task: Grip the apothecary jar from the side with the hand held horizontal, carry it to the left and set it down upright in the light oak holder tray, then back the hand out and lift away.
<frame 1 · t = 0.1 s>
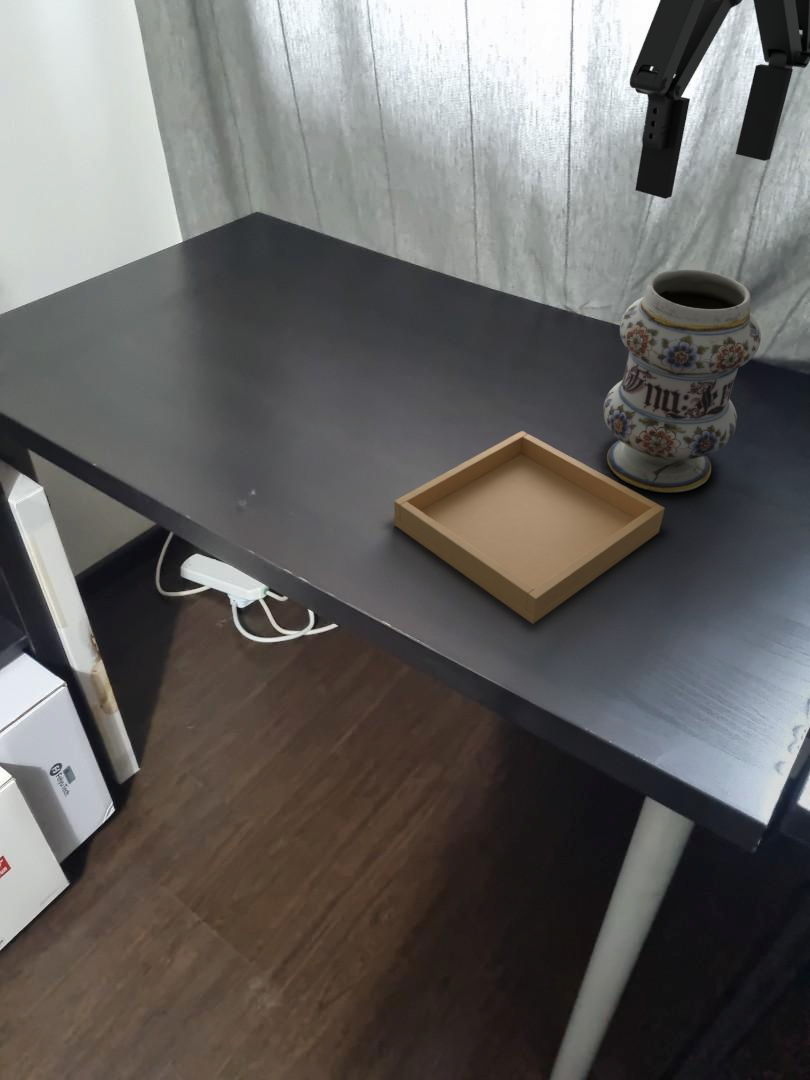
hand: (705, 174, 65), 27 cm above the table, tool pointing down, fingers open, 13 cm apart
apothecary jar: (657, 465, 81), on the table
holder: (525, 528, 74), on the table
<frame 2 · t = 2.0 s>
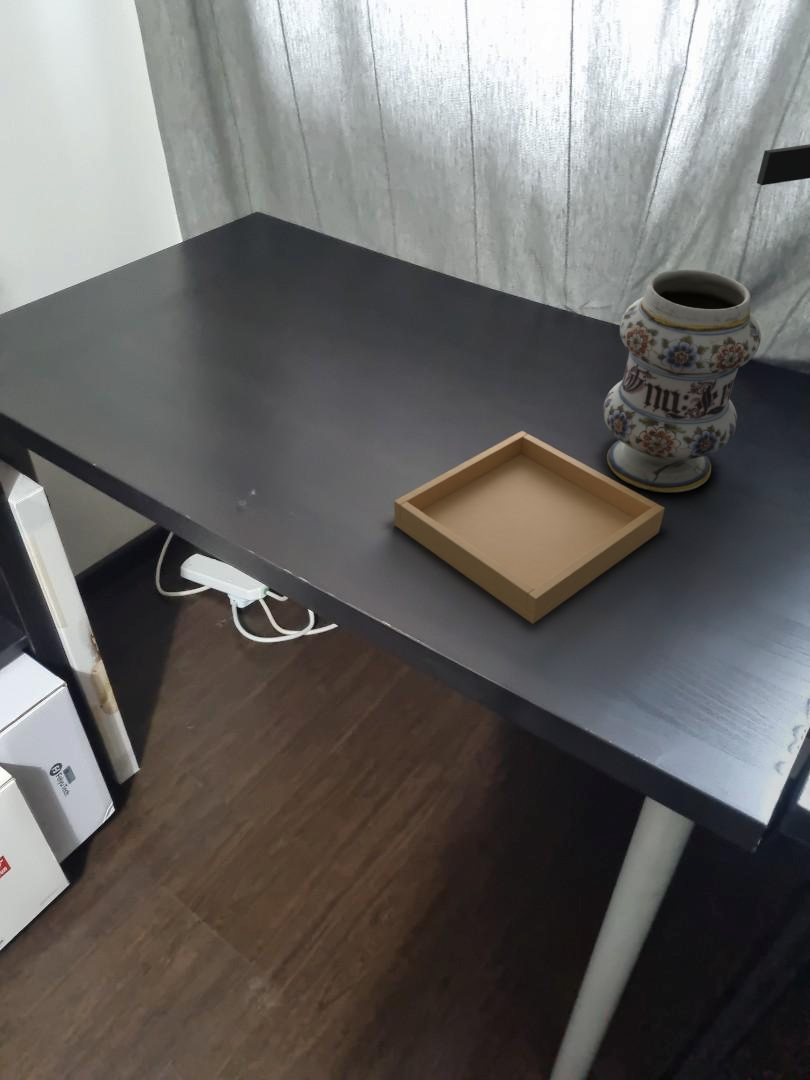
nothing on the table moved.
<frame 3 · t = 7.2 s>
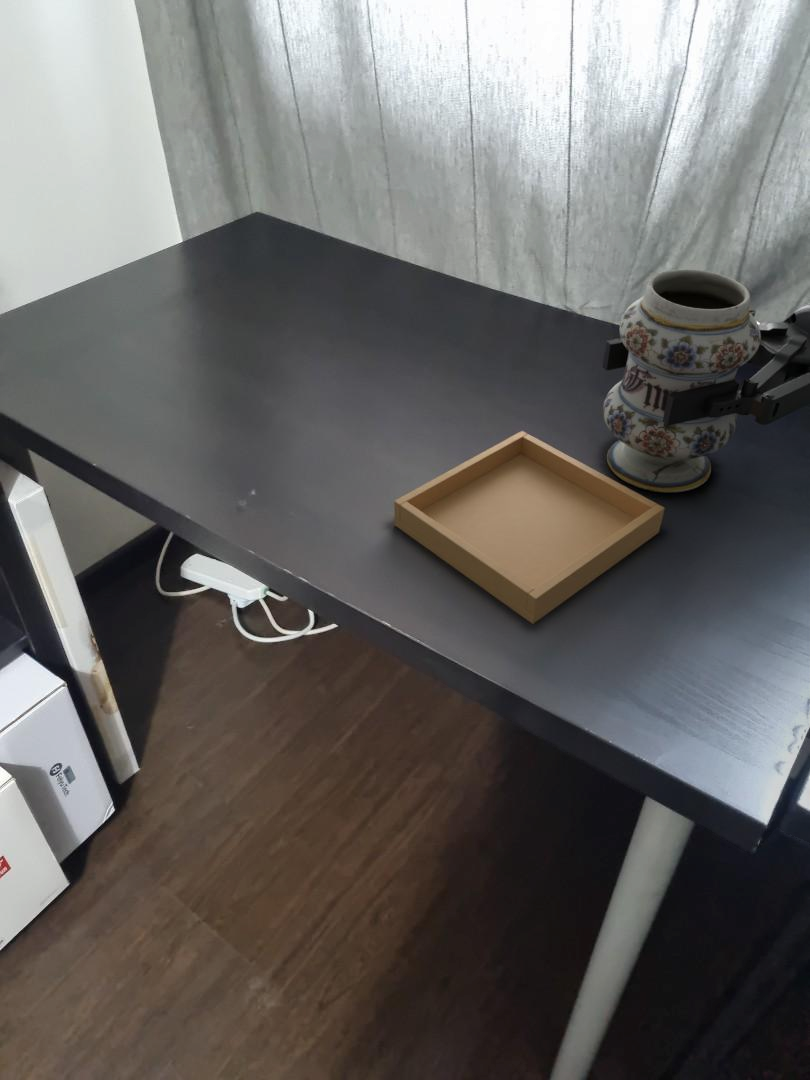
hand: (635, 381, 73), 10 cm above the table, tool horizontal, fingers closed on apothecary jar, 9 cm apart
apothecary jar: (657, 465, 81), on the table, touching gripper
when the fingers open (11 cm above the table, at t = 14.5 s): apothecary jar stays where it is, resting on holder.
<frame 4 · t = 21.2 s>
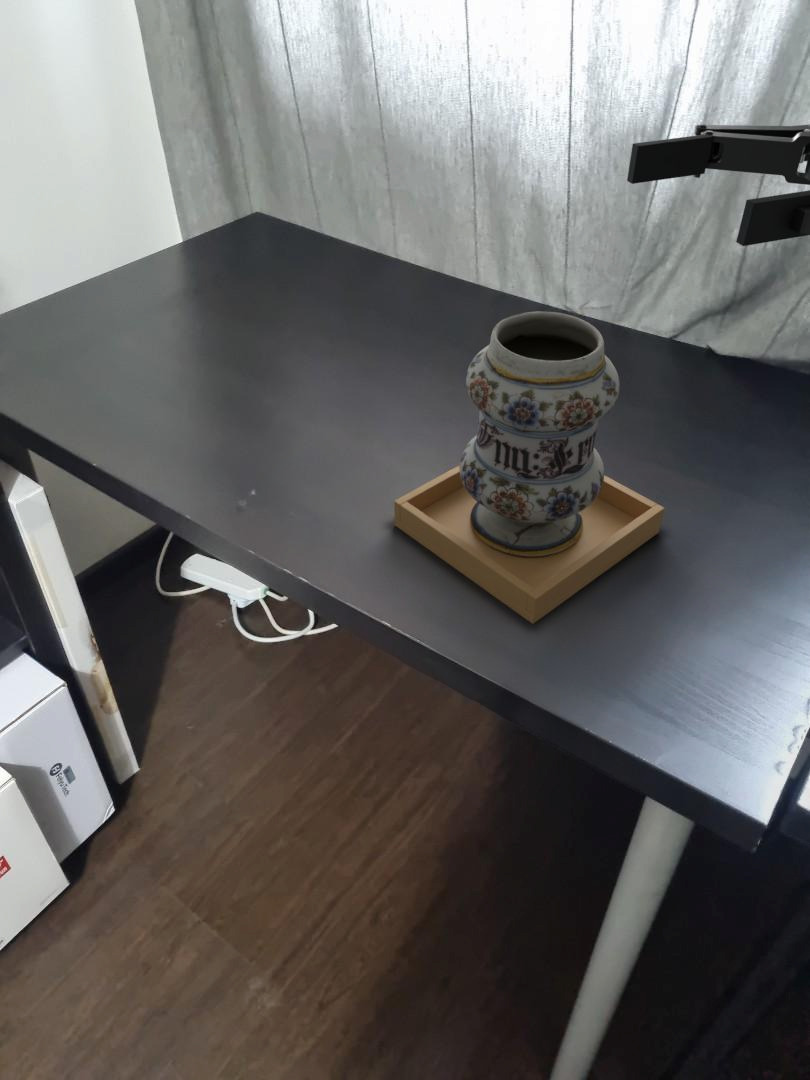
hand: (683, 191, 58), 28 cm above the table, tool horizontal, fingers open, 13 cm apart
apothecary jar: (525, 523, 73), point 1 cm above the table, touching holder
at the end: apothecary jar inside the target area in the holder (0.1 cm from its centre), point 0.6 cm above the holder's base; apothecary jar tilted 0°; the gripper is holding nothing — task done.
